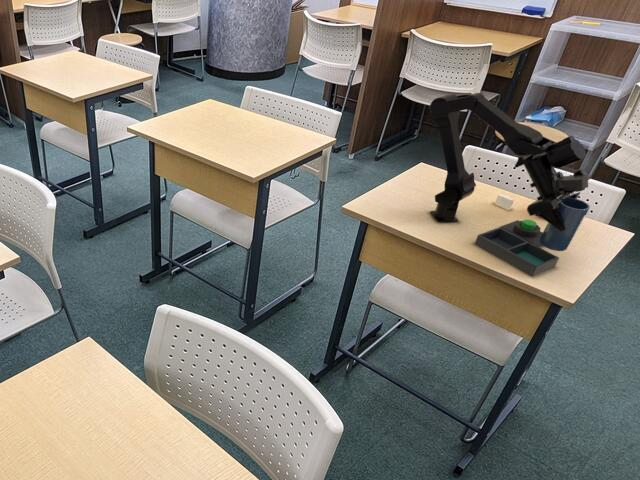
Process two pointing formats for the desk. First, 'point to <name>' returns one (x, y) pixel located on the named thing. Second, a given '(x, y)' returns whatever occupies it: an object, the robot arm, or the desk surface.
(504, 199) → the eraser
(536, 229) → the control block
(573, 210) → the tumbler
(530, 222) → the button
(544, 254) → the divided tray
